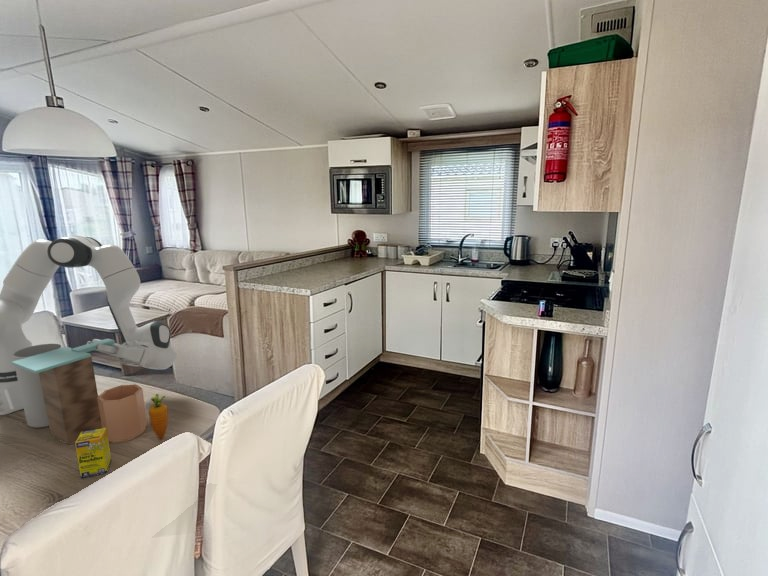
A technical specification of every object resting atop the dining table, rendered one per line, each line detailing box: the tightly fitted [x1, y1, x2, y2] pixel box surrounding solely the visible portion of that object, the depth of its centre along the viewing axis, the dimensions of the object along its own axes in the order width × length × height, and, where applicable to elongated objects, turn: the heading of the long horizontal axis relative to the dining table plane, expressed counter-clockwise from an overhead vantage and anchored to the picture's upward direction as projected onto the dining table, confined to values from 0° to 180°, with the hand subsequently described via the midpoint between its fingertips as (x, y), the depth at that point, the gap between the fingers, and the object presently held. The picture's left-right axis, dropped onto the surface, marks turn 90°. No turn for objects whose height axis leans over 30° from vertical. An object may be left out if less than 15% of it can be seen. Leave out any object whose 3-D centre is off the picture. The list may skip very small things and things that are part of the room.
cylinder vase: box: [13, 342, 64, 429], centre depth 132 cm, size 12×12×25 cm
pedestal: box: [39, 356, 102, 446], centre depth 124 cm, size 10×10×26 cm
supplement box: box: [74, 427, 112, 479], centre depth 108 cm, size 6×6×11 cm
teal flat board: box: [11, 338, 116, 373], centre depth 123 cm, size 24×14×1 cm, turn 154°
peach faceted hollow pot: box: [97, 383, 148, 444], centre depth 125 cm, size 11×11×14 cm
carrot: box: [148, 393, 169, 440], centre depth 122 cm, size 5×5×15 cm
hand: (92, 345), depth 128 cm, fingers closed on teal flat board, 4 cm apart
